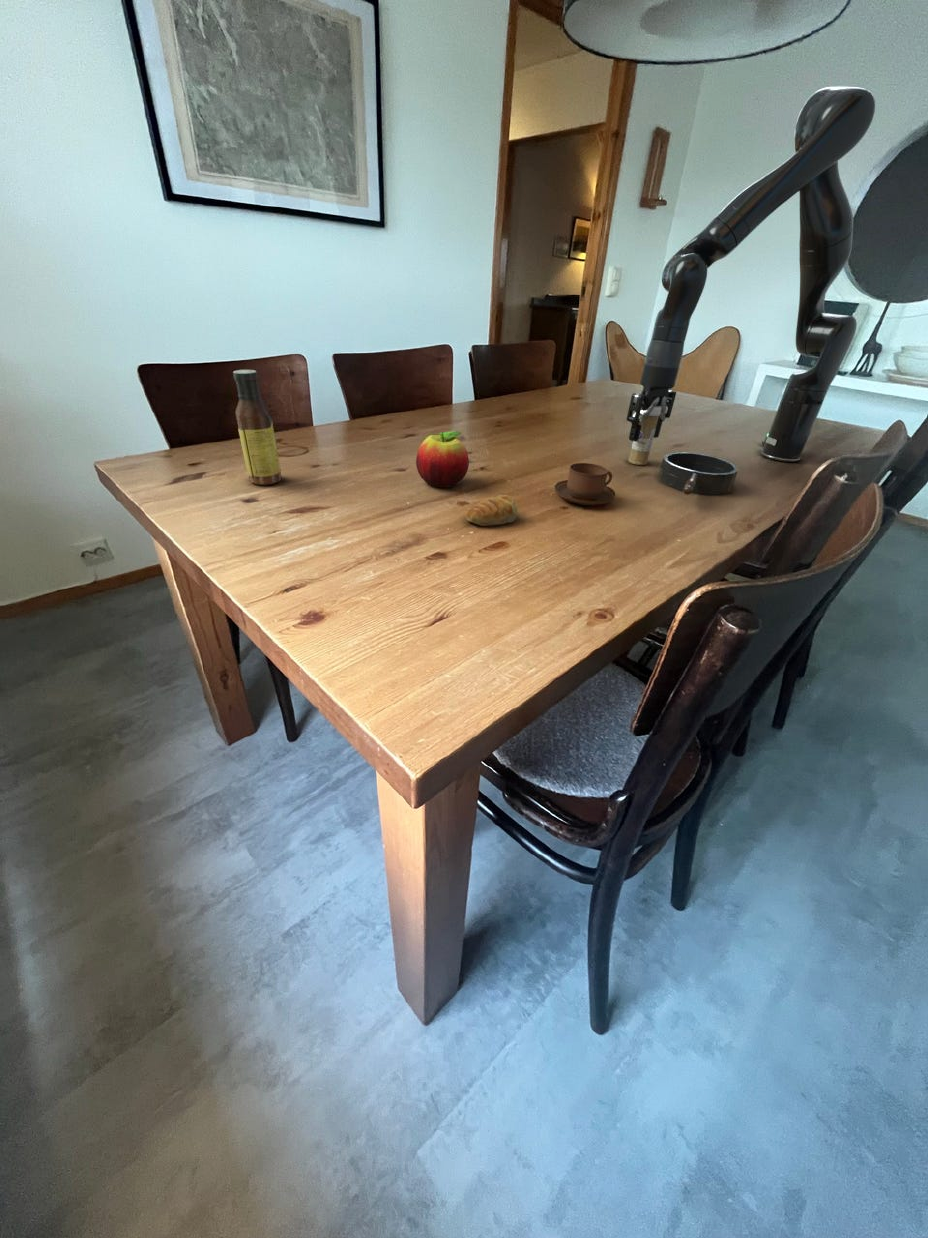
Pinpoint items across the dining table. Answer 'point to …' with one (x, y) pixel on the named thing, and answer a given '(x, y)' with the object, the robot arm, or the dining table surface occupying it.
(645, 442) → the sprinkles bottle
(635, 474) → the dining table surface
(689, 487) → the pan handle
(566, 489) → the cup and saucer
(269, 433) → the sauce bottle
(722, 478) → the pan
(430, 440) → the fruit
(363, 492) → the dining table surface
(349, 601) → the dining table surface
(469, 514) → the pastry
